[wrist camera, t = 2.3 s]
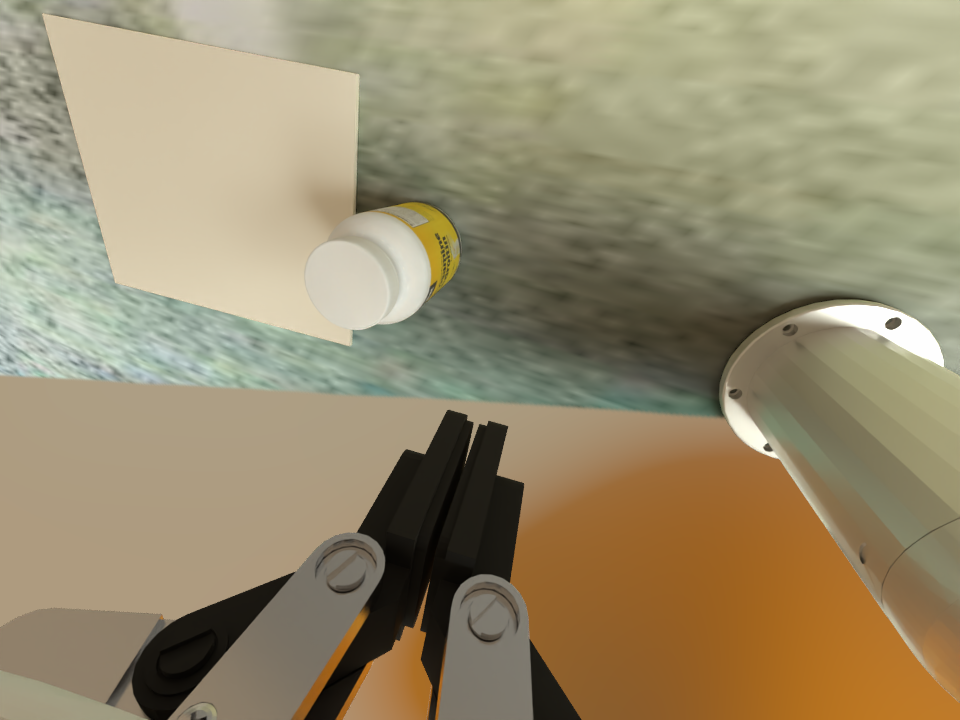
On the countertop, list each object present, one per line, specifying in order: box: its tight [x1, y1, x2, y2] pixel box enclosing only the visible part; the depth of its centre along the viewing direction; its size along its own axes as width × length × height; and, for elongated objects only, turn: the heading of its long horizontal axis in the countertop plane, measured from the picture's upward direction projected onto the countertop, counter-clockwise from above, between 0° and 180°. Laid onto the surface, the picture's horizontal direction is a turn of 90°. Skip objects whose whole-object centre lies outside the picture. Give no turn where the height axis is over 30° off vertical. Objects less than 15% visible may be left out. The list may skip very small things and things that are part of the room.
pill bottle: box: [304, 202, 462, 330], centre depth 25 cm, size 6×6×12 cm
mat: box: [42, 13, 359, 346], centre depth 32 cm, size 24×20×1 cm
